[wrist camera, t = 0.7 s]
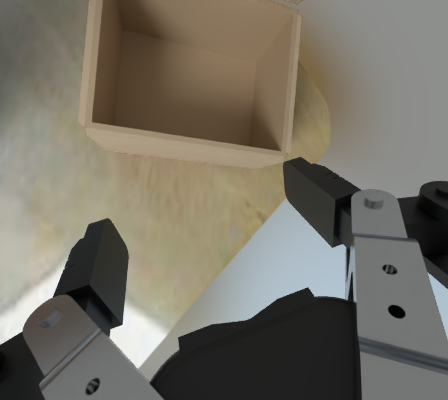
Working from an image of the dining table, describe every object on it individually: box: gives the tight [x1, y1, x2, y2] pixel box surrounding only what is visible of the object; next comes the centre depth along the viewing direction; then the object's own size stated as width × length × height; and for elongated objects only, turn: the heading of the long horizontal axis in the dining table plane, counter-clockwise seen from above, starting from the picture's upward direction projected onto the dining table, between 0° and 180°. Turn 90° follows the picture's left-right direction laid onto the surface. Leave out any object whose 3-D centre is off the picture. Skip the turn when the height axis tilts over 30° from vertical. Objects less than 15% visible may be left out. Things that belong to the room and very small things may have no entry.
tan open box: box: [78, 0, 302, 169], centre depth 33 cm, size 19×23×12 cm
